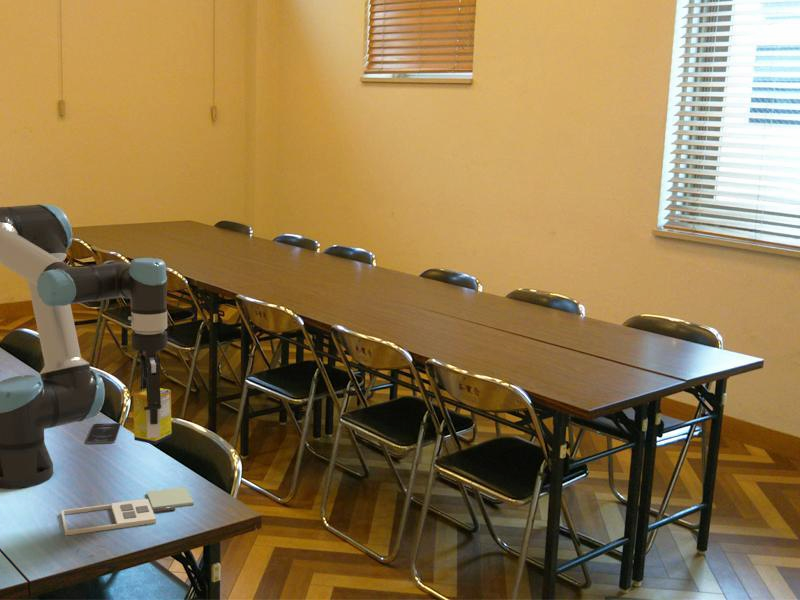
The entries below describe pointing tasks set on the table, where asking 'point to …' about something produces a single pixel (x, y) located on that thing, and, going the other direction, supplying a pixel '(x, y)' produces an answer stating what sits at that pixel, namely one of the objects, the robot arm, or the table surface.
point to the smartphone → (103, 433)
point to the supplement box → (141, 416)
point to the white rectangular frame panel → (119, 515)
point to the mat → (170, 497)
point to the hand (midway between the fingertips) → (151, 430)
